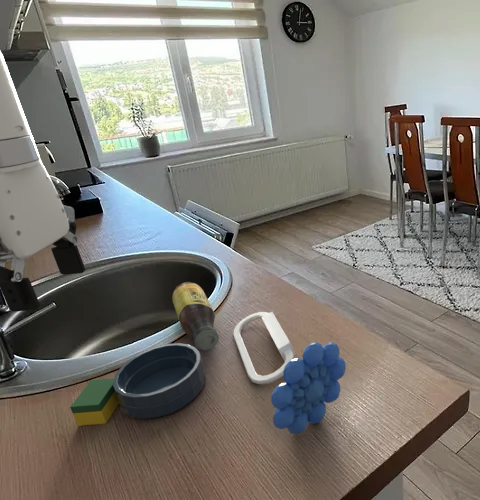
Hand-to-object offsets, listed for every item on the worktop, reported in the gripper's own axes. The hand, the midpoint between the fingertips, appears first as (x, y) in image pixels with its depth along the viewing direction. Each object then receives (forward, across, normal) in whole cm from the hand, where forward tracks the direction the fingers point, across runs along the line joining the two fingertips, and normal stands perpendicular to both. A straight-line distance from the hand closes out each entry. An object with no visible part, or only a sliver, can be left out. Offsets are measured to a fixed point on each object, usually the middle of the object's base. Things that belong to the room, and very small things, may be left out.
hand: (51, 289), depth 53 cm
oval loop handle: (+20, -12, +23) cm, 33 cm away
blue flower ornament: (+20, +5, +32) cm, 38 cm away
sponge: (+20, 0, 0) cm, 20 cm away
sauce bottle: (+17, -29, +4) cm, 34 cm away
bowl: (+20, -3, +8) cm, 22 cm away
